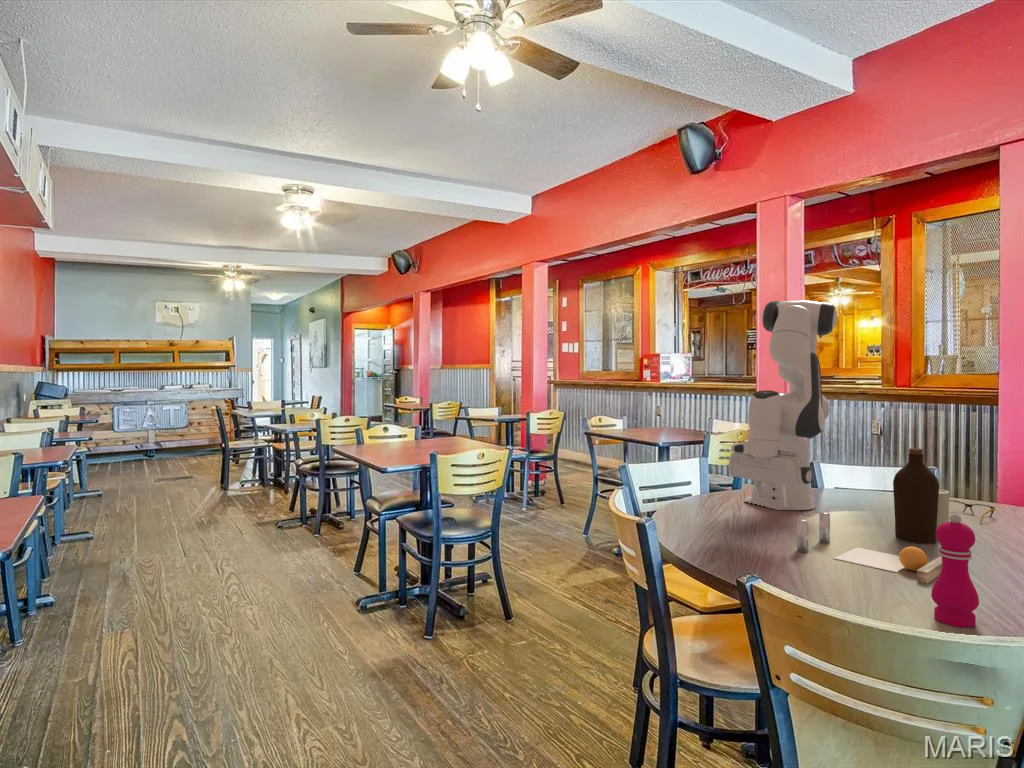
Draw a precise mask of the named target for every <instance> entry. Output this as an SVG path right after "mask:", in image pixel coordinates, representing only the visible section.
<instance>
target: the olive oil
mask: <svg viewBox="0 0 1024 768" xmlns="http://www.w3.org/2000/svg"><path fill="white" fill-rule="evenodd" d="M923 453H924V450H923V449H922V448H918V447H917V448H916V447H914V448H913V447H912V448H909V449H908V462H907V463H906V464H905V465H904V466H903V467H901V468H900V469H899V470H898V471H897V472H896V473H895V474H894V478H893V479H892V480H893V481H892V489H893V490H892V492H893V504H894V507H893V508H894V529H895V530H894V535H895V536H894V537H895V538H896V539H897V538H898V540H900V541H903V542H906V541H908V542H907V543H912V542H914V544H920V543H931V544H935V543H937V539H936V530H937V513H938V498H939V489H940V482H939V480H938V477H937V475H936V474H935V473H933V471H932V470H931V469H930V468H928V466H927V465H925V464H924V454H923ZM934 542H935V543H934Z"/></svg>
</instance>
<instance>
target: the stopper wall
mask: <svg viewBox="0 0 1024 768" xmlns="http://www.w3.org/2000/svg"><path fill="white" fill-rule="evenodd" d="M941 569H942V556H941V555H940V556H939V557H936V558H934V559H933V560H932V561H930V562H927V564H926V565H925V566H923V567H921V568H920V569H918V570H917V571H916V582H919V583H923V584H929V583H931V582H932V581H934V580H936V579H937V578H938V576H939V575H940V572H941ZM936 577H937V578H936Z"/></svg>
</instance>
